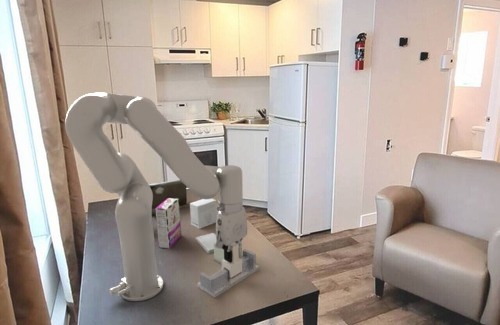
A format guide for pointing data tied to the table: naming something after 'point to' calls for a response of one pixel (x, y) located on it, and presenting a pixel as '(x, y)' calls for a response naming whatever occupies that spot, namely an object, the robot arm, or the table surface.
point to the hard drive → (207, 242)
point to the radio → (168, 193)
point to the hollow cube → (220, 253)
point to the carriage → (233, 261)
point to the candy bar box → (168, 222)
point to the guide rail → (222, 280)
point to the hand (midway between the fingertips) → (231, 258)
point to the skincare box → (203, 212)
